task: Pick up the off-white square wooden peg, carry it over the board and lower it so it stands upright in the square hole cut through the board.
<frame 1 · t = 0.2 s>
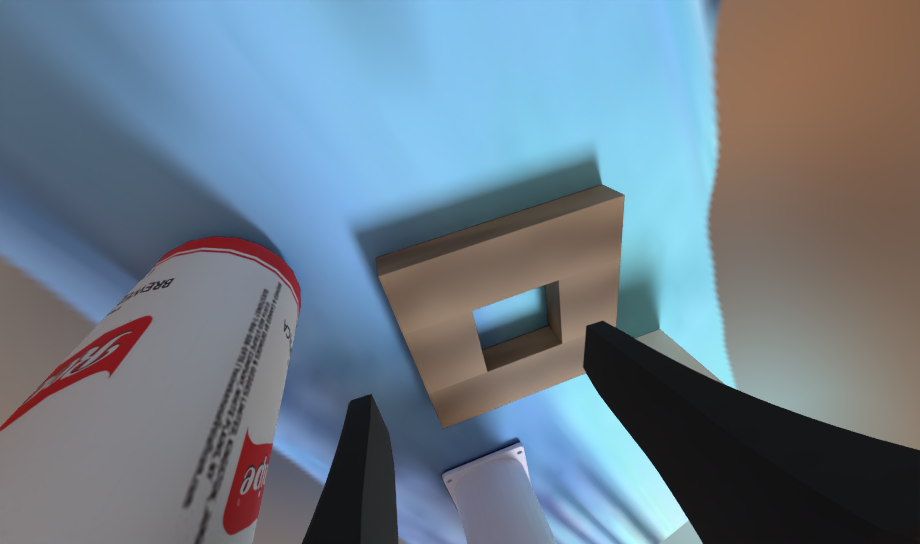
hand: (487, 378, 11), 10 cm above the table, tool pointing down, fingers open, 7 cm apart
beer can: (238, 282, 18), on the table
slotted board: (509, 310, 24), on the table
peg: (637, 352, 30), on the table
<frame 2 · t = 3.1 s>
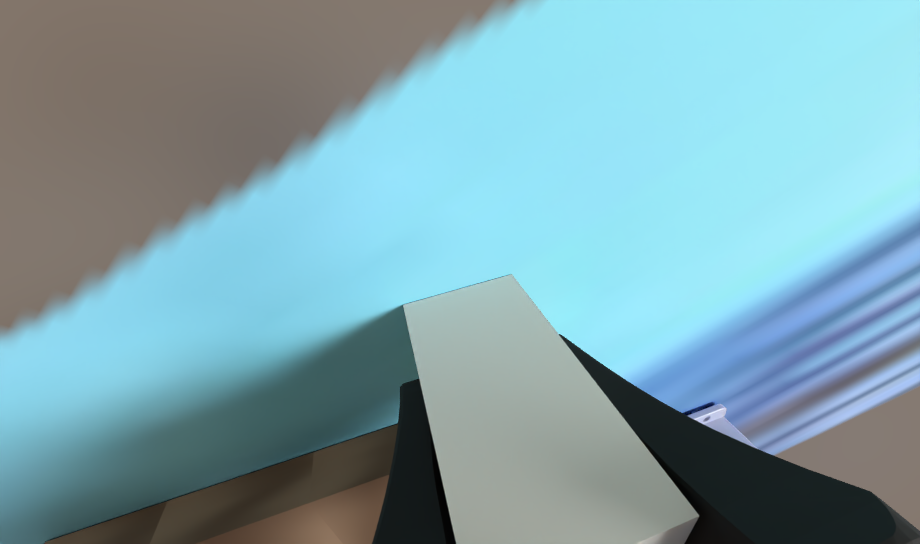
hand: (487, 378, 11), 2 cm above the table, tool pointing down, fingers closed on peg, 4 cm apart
peg: (466, 330, 13), on the table, touching gripper
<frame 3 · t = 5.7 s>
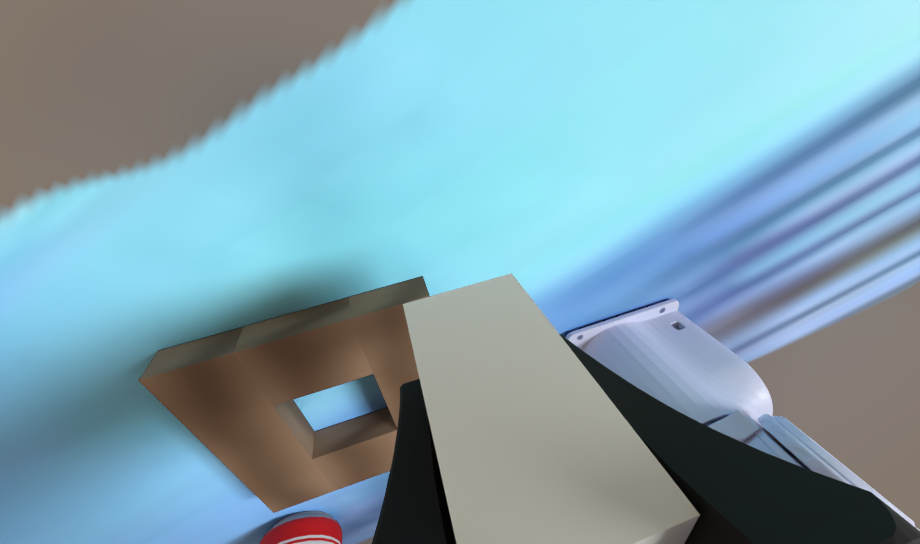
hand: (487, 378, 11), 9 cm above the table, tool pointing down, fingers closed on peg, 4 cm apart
beer can: (303, 525, 29), on the table
slotted board: (341, 392, 22), on the table
peg: (466, 330, 13), point 7 cm above the table, touching gripper
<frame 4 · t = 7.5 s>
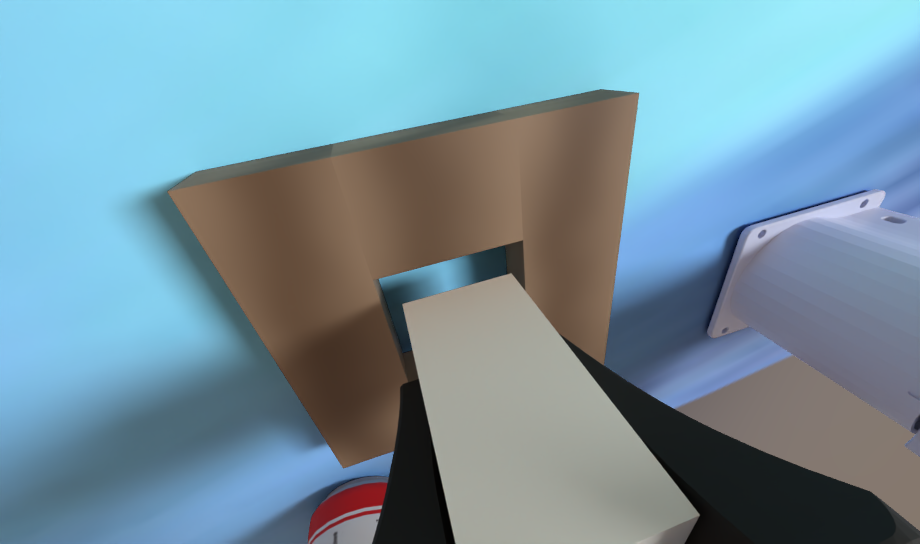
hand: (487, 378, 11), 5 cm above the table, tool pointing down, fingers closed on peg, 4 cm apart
beer can: (363, 496, 22), on the table
slotted board: (449, 291, 15), on the table
peg: (465, 330, 13), point 3 cm above the table, touching gripper
when the fingers open (4 cm above the table, at t = 8.7 s): peg drops 2 cm, resting in slotted board.
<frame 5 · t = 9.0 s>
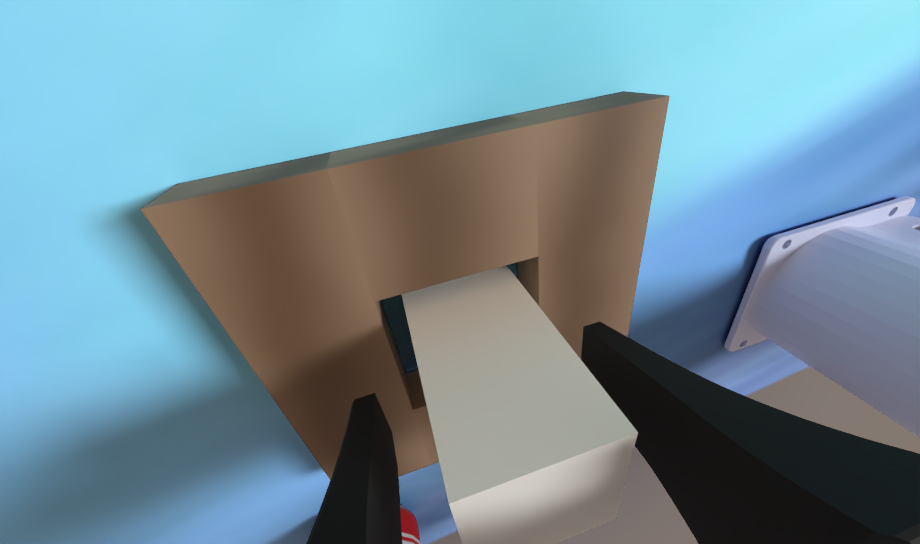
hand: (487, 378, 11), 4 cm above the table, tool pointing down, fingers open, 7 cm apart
beer can: (363, 518, 21), on the table
slotted board: (456, 308, 14), on the table
peg: (456, 306, 14), resting in slotted board
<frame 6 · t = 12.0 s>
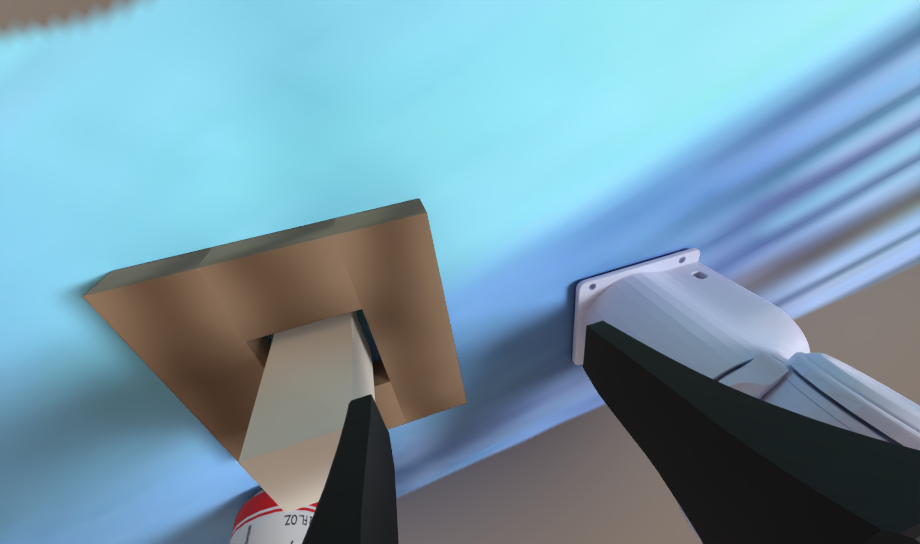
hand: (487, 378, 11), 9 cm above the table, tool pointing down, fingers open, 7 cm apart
beer can: (286, 496, 27), on the table
slotted board: (327, 339, 20), on the table
peg: (327, 337, 20), resting in slotted board
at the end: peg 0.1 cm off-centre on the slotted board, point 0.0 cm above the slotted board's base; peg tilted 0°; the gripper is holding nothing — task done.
